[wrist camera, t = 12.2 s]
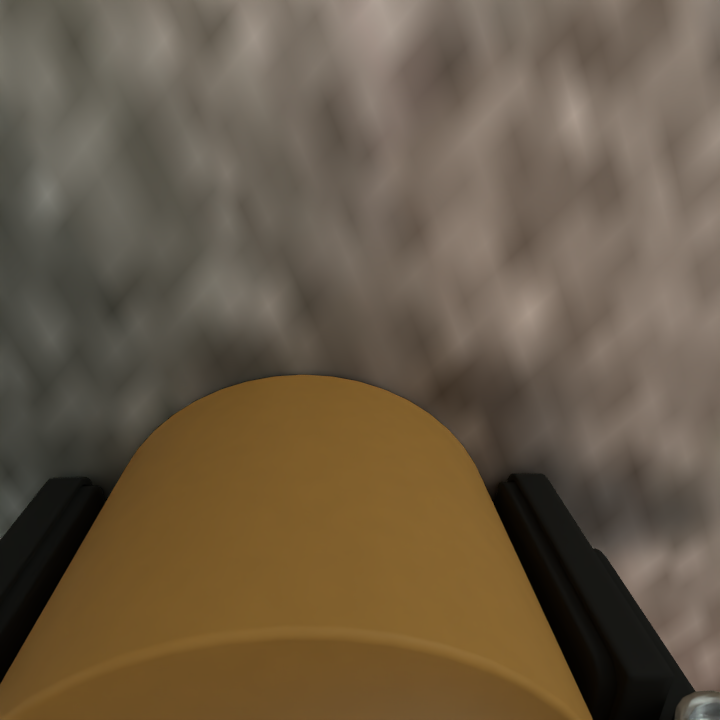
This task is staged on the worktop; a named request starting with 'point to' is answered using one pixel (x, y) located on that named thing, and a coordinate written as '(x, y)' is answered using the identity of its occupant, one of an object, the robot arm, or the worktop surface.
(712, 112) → the worktop surface
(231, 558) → the tape roll
